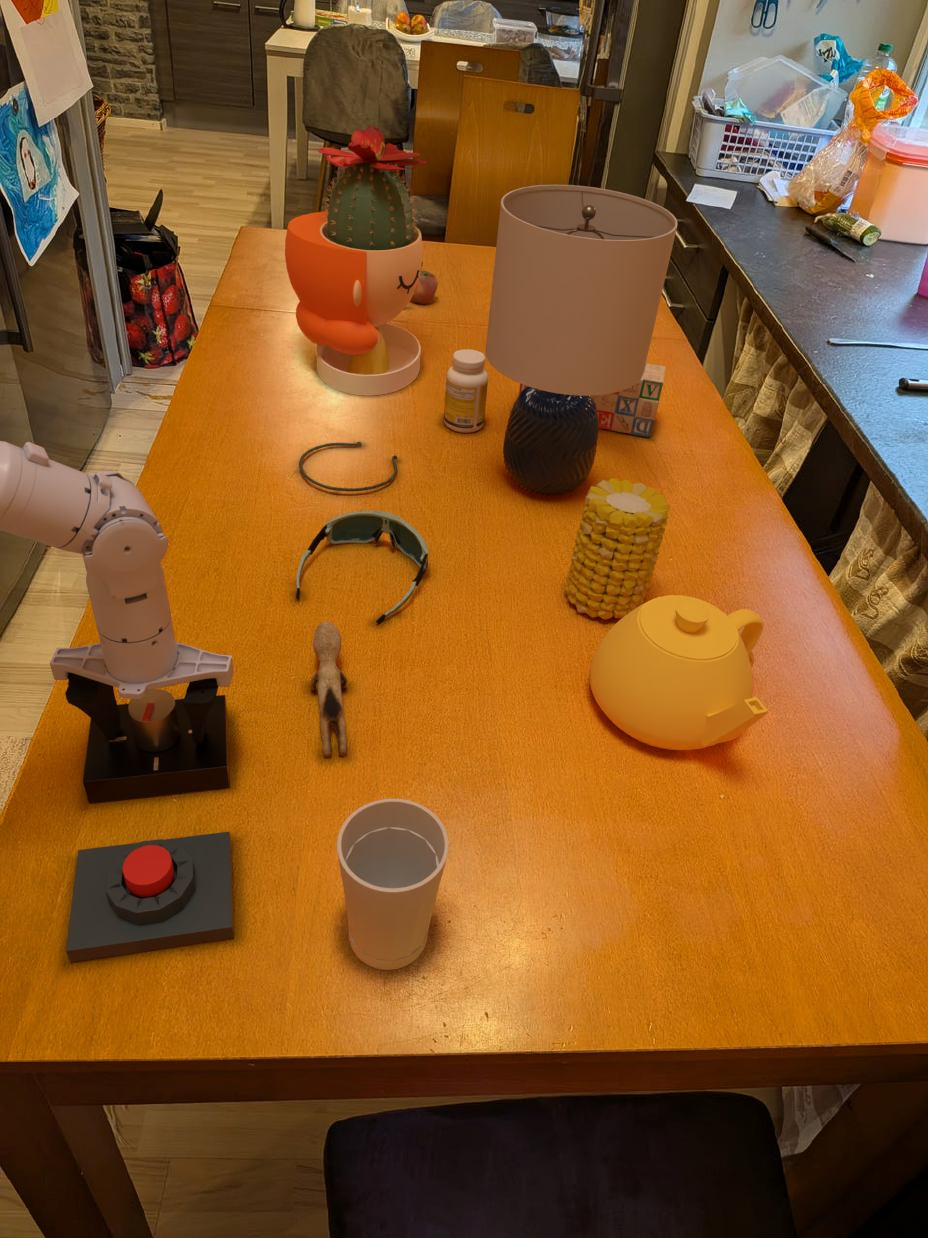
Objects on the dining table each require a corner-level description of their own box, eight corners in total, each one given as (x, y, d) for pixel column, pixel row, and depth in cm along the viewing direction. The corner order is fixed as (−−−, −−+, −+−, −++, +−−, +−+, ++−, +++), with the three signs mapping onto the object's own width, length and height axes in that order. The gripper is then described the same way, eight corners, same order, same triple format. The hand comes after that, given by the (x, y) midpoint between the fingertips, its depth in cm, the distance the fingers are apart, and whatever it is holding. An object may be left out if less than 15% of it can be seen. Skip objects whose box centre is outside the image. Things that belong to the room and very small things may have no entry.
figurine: (353, 765, 87) (342, 639, 96) (354, 743, 83) (342, 614, 92) (315, 769, 86) (307, 641, 95) (314, 746, 83) (306, 616, 91)
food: (554, 619, 106) (585, 579, 113) (651, 638, 100) (677, 594, 108) (548, 501, 98) (582, 466, 105) (653, 514, 92) (681, 476, 100)
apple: (400, 306, 170) (401, 275, 166) (410, 292, 176) (412, 261, 172) (430, 312, 169) (432, 280, 165) (440, 297, 175) (442, 266, 171)
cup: (347, 990, 68) (347, 902, 60) (330, 899, 74) (328, 808, 66) (449, 968, 70) (461, 880, 62) (425, 880, 76) (433, 790, 68)
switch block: (70, 963, 68) (60, 938, 65) (82, 862, 74) (73, 836, 72) (233, 938, 70) (229, 914, 68) (231, 843, 77) (227, 818, 75)
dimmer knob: (140, 718, 83) (133, 685, 80) (185, 720, 83) (179, 687, 80) (129, 751, 80) (121, 718, 77) (175, 753, 80) (168, 720, 77)
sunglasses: (442, 557, 110) (443, 526, 107) (394, 641, 101) (393, 611, 97) (338, 527, 113) (335, 496, 110) (281, 606, 104) (276, 576, 100)
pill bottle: (469, 411, 140) (475, 343, 133) (491, 429, 136) (499, 360, 129) (435, 419, 137) (440, 350, 130) (456, 437, 134) (463, 367, 126)
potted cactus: (427, 345, 157) (440, 123, 135) (408, 403, 140) (419, 160, 118) (307, 330, 158) (299, 106, 135) (273, 386, 141) (258, 141, 118)
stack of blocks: (653, 420, 143) (671, 347, 135) (650, 439, 138) (668, 363, 130) (522, 396, 146) (532, 322, 138) (515, 413, 141) (525, 338, 133)
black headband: (415, 467, 126) (416, 461, 125) (355, 507, 117) (355, 501, 116) (341, 435, 131) (341, 429, 130) (278, 470, 122) (278, 464, 121)
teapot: (557, 667, 97) (577, 574, 89) (700, 631, 104) (730, 541, 95) (659, 808, 84) (693, 714, 75) (815, 756, 90) (862, 664, 82)
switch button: (124, 900, 68) (120, 888, 67) (127, 861, 71) (124, 848, 70) (173, 894, 69) (170, 881, 68) (174, 855, 72) (172, 842, 71)
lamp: (470, 515, 118) (501, 223, 94) (473, 439, 134) (501, 172, 110) (622, 528, 119) (692, 242, 95) (608, 451, 134) (665, 188, 110)
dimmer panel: (89, 804, 79) (82, 781, 77) (97, 728, 85) (91, 705, 83) (229, 788, 81) (226, 765, 79) (227, 716, 88) (224, 693, 86)
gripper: (23, 648, 69) (60, 764, 77) (216, 657, 70) (230, 770, 78) (53, 591, 74) (84, 705, 83) (231, 600, 75) (244, 712, 84)
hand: (157, 733), depth 81 cm, fingers open, 7 cm apart
